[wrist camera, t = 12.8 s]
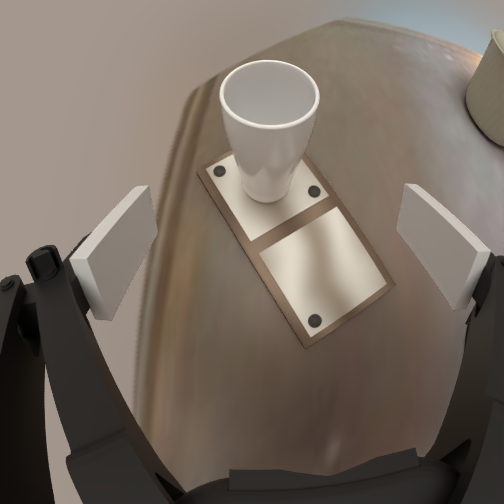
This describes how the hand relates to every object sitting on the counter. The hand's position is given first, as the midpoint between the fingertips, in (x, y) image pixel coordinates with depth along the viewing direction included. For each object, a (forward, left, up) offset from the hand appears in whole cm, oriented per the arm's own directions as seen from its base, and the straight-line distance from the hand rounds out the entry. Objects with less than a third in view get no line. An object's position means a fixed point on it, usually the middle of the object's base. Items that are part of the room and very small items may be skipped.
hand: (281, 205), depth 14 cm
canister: (-49, -1, -18) cm, 52 cm away
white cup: (-4, -8, -16) cm, 18 cm away
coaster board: (-5, -2, -17) cm, 18 cm away
